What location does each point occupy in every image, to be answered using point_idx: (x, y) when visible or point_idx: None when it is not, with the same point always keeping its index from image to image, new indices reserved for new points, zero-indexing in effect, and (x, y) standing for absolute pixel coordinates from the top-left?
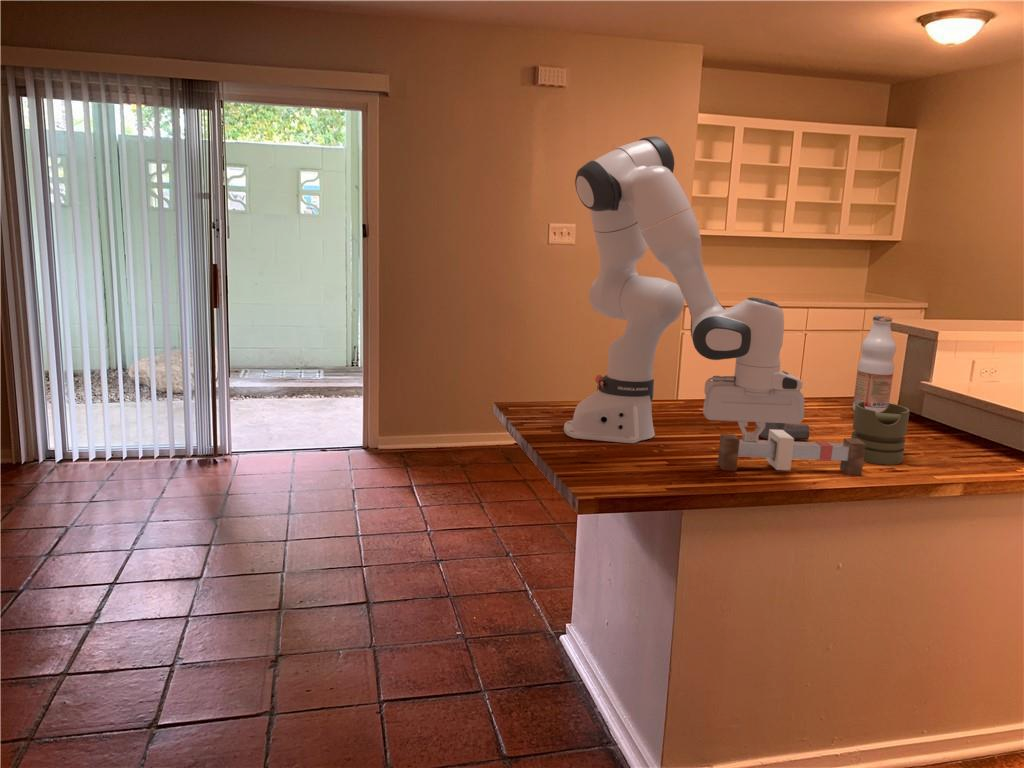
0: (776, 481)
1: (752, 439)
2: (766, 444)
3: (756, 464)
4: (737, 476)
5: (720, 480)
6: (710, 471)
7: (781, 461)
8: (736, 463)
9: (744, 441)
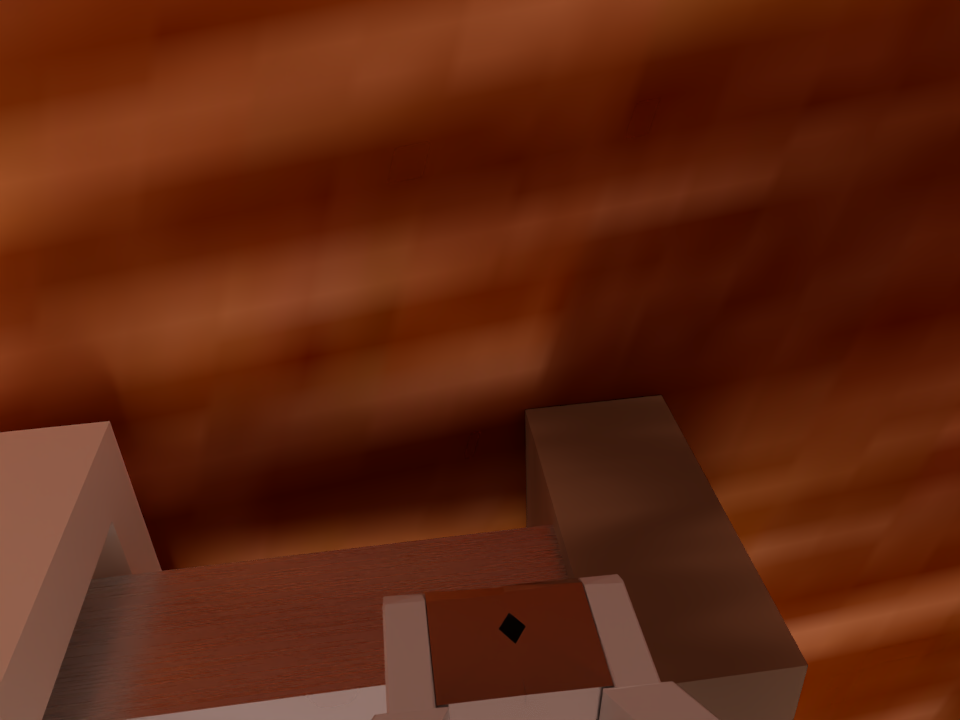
0: (134, 154)
1: (488, 620)
2: (201, 706)
3: None
4: (566, 243)
5: (814, 64)
6: (794, 339)
7: (27, 494)
8: (545, 457)
9: (612, 575)
